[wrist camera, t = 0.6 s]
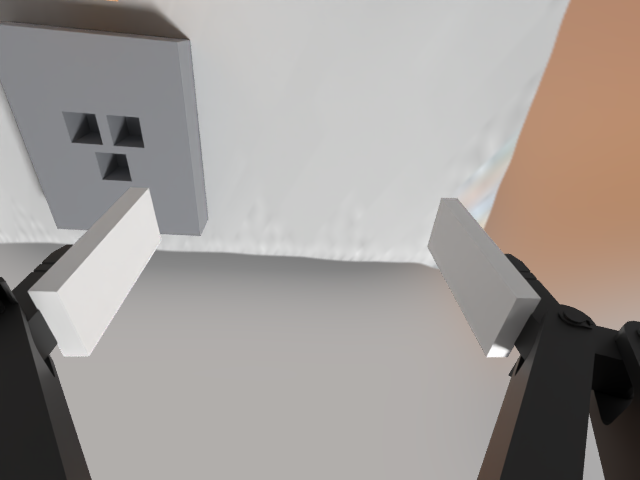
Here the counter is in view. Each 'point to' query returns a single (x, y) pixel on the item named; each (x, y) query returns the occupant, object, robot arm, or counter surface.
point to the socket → (107, 121)
